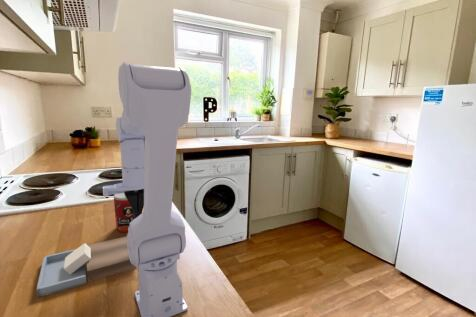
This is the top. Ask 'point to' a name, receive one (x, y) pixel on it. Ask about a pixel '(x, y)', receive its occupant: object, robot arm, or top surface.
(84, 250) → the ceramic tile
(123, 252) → the walnut board
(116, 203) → the canned food
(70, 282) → the tray
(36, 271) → the top surface
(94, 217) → the top surface
